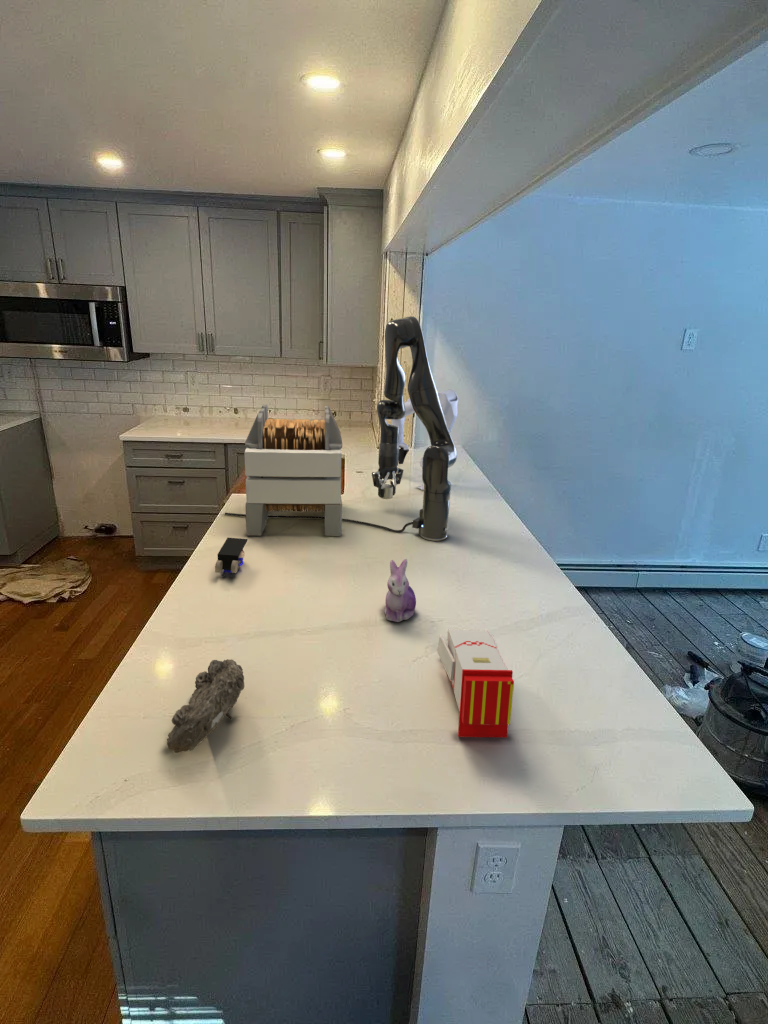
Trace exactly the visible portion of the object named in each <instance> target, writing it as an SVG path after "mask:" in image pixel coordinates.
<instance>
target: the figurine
mask: <svg viewBox="0 0 768 1024" xmlns="http://www.w3.org/2000/svg"><path fill="white" fill-rule="evenodd" d="M407 567H408V559H406V558H404V559H403V560H402V561H401V563H400V565H399V566H398V565H397V563H396V562H395V561H394V560H393V559H391V560H390V561H389V570H390V576H389V578H388V579H387V589H388V591H387V592H386V594H385V595H386V596H385V607H384V615H385V616H386V620H387V621H391V622H395V623H400V622H402V621H406V620H409V619H410V618H411V617H413V616H414V615H415V610H416V606H417V597H416V593H415V591H414V590H413V587H411V586H410V582H409V579H408V577H407V574H406V571H407Z"/></svg>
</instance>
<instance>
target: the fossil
mask: <svg viewBox="0 0 768 1024" xmlns="http://www.w3.org/2000/svg"><path fill="white" fill-rule="evenodd" d="M243 670H244V669H243V667H242V665H240V664H237V662H236V661H235V660H234V659H232V658H231V659H227V658H226V659H224V660H223V661H222V660H217V659H212V660H211V661H210V663H209V665H208V666H207V671H201V672H199V673H198V674H197V675H196V676H195V680H194V684H195V685H194V687H195V689H194V690H193V693H192V694H191V697H190V698H189V700H188V704H184V705H182V706H181V707H180V709H177V710H176V711H175V713H174V715H173V716H172V718H171V723H172V724H173V727H172V730H171V731H170V732H168V734H167V738H166V741H167V742H166V745H167V749H168V750H169V751H173V752H174V753H176V754H178V753H182V752H188V751H189V752H192V751H193V750H195V748H196V747H197V746H199V744H200V743H201V742H203V741H204V740H205V739H206V738H207V737H208V736H209V735H210V734H211V733H212V732H214V730H215V729H217V727H218V726H219V724H220V722H221V721H222V720H223V719H224V718H225V716H226V717H227V719H229V720H233V717H232V715H230V714H229V710H230V709H231V708H234V706H235V704H236V703H237V702H238V699H239V697H240V695H241V693H242V691H243V690H245V689H244V688H245V675H244V671H243Z"/></svg>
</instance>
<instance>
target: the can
mask: <svg viewBox="0 0 768 1024" xmlns="http://www.w3.org/2000/svg"><path fill="white" fill-rule="evenodd" d="M383 489H384V497H383V498H382V499H383V500H391V499H393V486H392V485H391V484H390V483H389V484H388V483H385V485H384V488H383Z"/></svg>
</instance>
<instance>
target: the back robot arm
mask: <svg viewBox="0 0 768 1024" xmlns="http://www.w3.org/2000/svg"><path fill="white" fill-rule="evenodd" d="M437 393H438V397H439V401H440V405H441V408H442V411H443V415H444V419H445V422H446V426H447V428H448V431H449V434H450V435H451V433H452V429H453V427H454V425H455V423H456V420H457V418H458V414H459V413H458V411H459V410H458V403H459V400H460V399H459V396H458V394H457V392H456V391H455V390H453V389H452V388H451V389H447V390H437ZM404 404H405V410H406V412H405V416H404V417H403V418H402V419H399V420H395V419H390V421H391V422H390V425H394V426H397V427H398V428H399V458H398V465H403V464H404V463H405V459H406V456H407V454H408V453H409V451H410V449H409V446H410V445H409V444H407V443H405V442H404V432H405V431H404V430H405V421H406V417H408V416H410V415H412V414H416V413H415V411H414V409H413V407H412V404H411V401H410V398H408V399H406V401H404ZM419 465H420V468H421V469H422V466H423V457H421V458H420V461H419ZM416 488H417V489H419V490H421V491H424V483H423V480H422V479H421V485H420V486H419V485H418V486H417V487H416Z"/></svg>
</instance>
